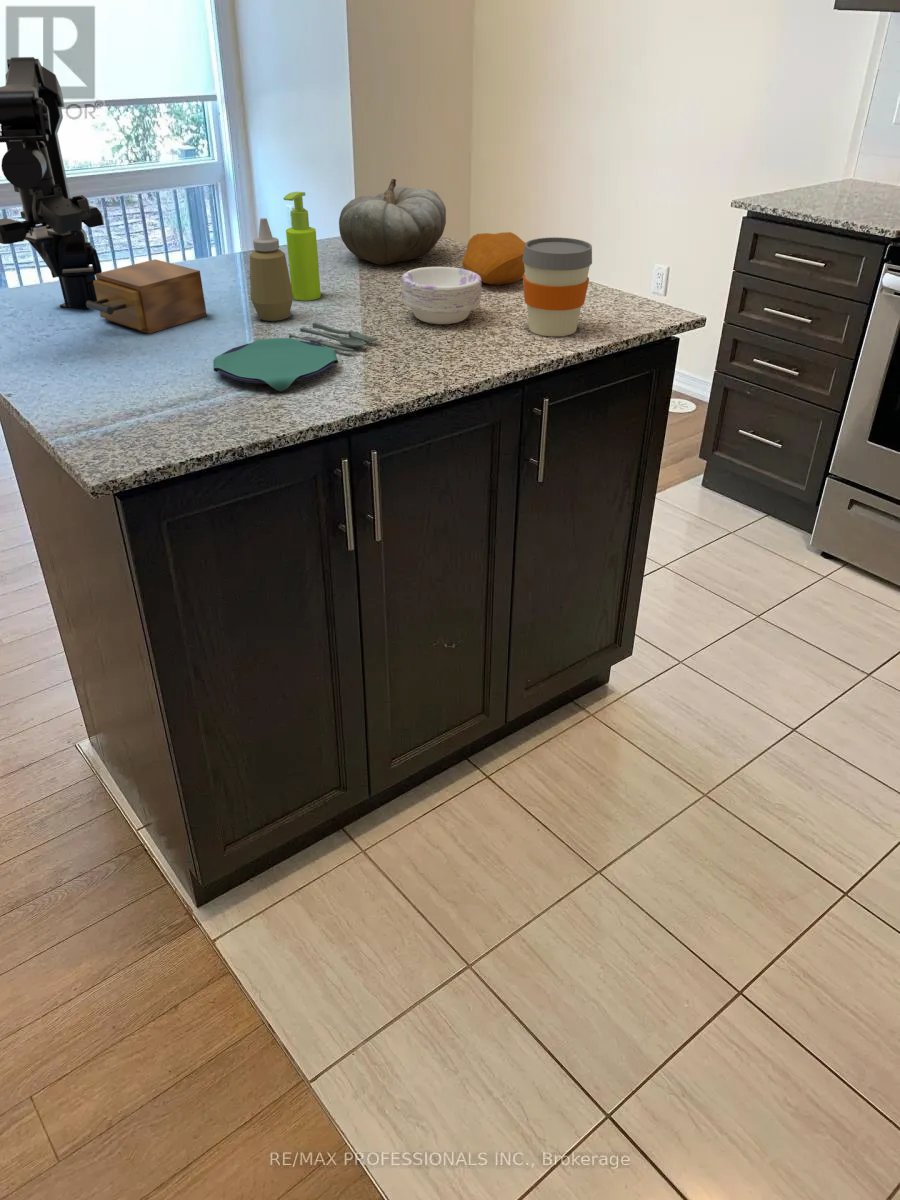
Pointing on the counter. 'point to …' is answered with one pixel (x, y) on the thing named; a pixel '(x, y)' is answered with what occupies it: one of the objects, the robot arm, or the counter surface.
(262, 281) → the squeeze bottle
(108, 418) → the counter surface
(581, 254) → the reusable coffee cup
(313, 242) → the soap dispenser
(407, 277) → the paper bowls
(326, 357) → the cutlery set
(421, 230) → the gourd
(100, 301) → the drawer
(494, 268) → the bread
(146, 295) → the cabinet
